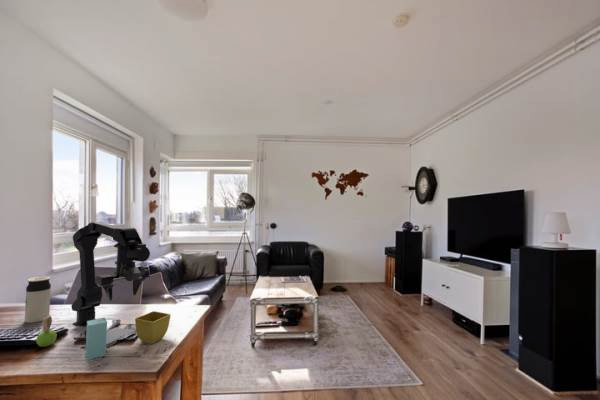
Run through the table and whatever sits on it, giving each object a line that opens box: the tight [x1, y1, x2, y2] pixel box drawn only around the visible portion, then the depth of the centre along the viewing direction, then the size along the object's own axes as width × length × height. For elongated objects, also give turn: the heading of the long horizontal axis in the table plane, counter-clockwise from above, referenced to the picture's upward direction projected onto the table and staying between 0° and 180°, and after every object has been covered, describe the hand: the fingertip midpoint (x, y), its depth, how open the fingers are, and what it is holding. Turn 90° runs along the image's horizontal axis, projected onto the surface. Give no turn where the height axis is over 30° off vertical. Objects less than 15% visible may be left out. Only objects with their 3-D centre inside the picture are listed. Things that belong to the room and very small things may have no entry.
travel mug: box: [24, 276, 52, 324], centre depth 125 cm, size 8×8×18 cm
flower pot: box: [134, 310, 171, 345], centre depth 107 cm, size 9×9×9 cm
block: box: [85, 317, 108, 361], centre depth 96 cm, size 5×5×11 cm
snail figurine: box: [35, 315, 58, 348], centre depth 101 cm, size 5×6×12 cm
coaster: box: [106, 326, 136, 348], centre depth 108 cm, size 10×12×1 cm
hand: (122, 297), depth 115 cm, fingers open, 9 cm apart
